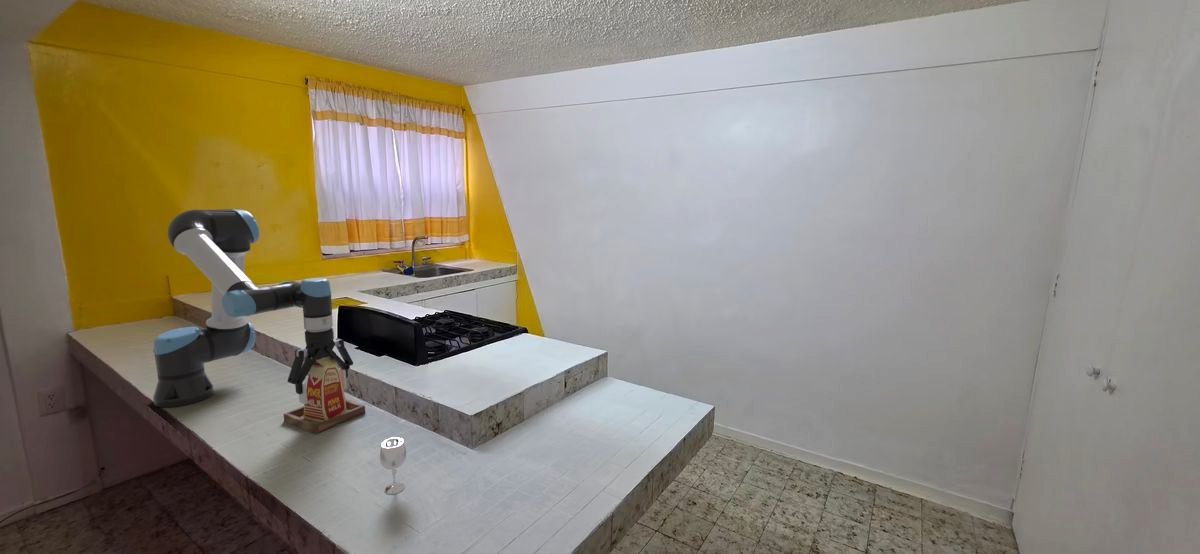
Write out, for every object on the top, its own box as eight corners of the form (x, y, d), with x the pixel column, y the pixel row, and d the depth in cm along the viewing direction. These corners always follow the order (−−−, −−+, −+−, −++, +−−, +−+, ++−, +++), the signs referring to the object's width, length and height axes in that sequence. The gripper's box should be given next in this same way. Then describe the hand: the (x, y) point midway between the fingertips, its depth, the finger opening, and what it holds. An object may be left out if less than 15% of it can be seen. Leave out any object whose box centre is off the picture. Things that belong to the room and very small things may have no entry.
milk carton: (326, 423, 139) (322, 361, 136) (302, 419, 141) (296, 357, 138) (349, 410, 148) (345, 351, 144) (326, 406, 150) (321, 348, 146)
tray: (284, 421, 141) (283, 413, 140) (334, 401, 155) (333, 394, 154) (315, 434, 133) (315, 426, 133) (365, 412, 148) (364, 405, 147)
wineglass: (386, 481, 113) (384, 436, 111) (410, 480, 113) (409, 436, 111) (377, 496, 107) (375, 449, 105) (402, 495, 107) (400, 448, 106)
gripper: (284, 340, 127) (290, 413, 131) (363, 321, 148) (366, 384, 152) (269, 336, 130) (275, 407, 134) (348, 318, 152) (352, 380, 155)
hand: (324, 395), depth 143 cm, fingers open, 12 cm apart
